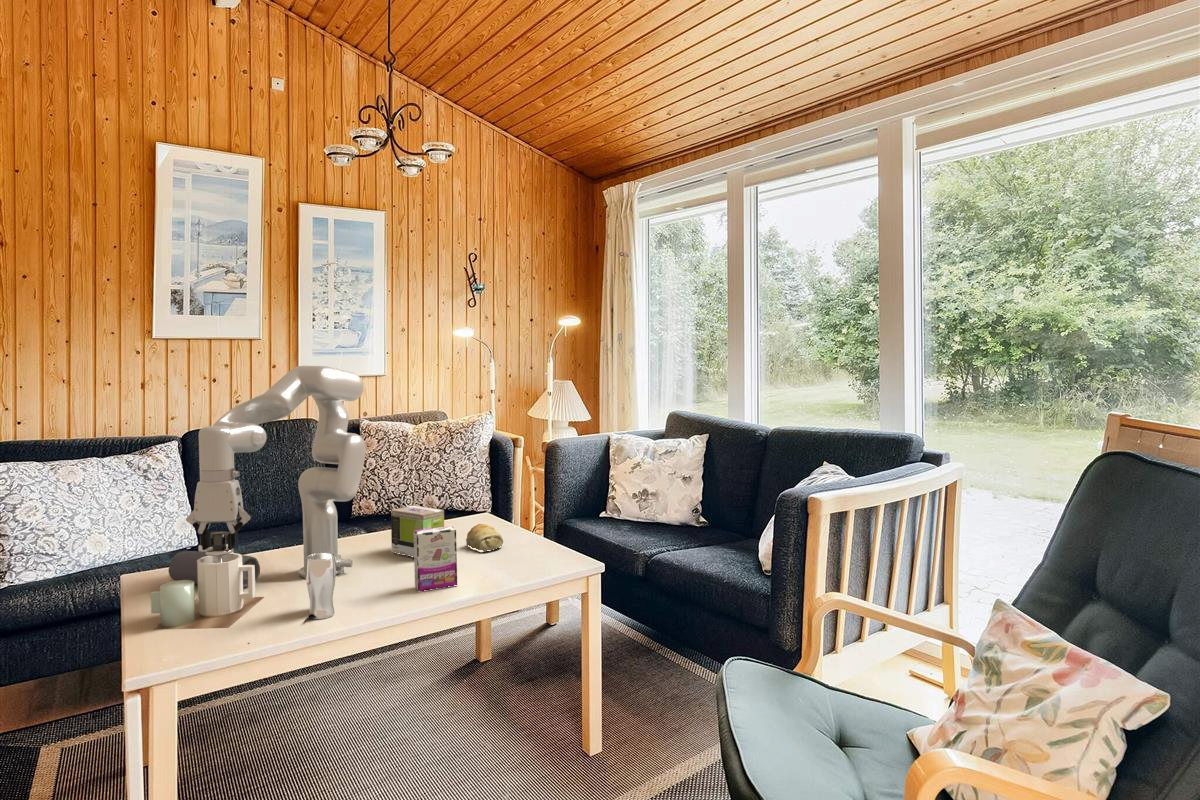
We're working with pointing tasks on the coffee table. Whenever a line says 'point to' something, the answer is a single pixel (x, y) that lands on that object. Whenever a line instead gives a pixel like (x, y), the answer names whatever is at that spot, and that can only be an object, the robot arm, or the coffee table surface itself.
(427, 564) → the candy bar box
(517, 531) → the coffee table surface
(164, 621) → the sage mug
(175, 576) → the bluetooth speaker
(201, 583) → the press carafe
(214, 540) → the plunger
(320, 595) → the beer glass
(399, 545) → the tea box
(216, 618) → the serving board
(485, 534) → the pastry
